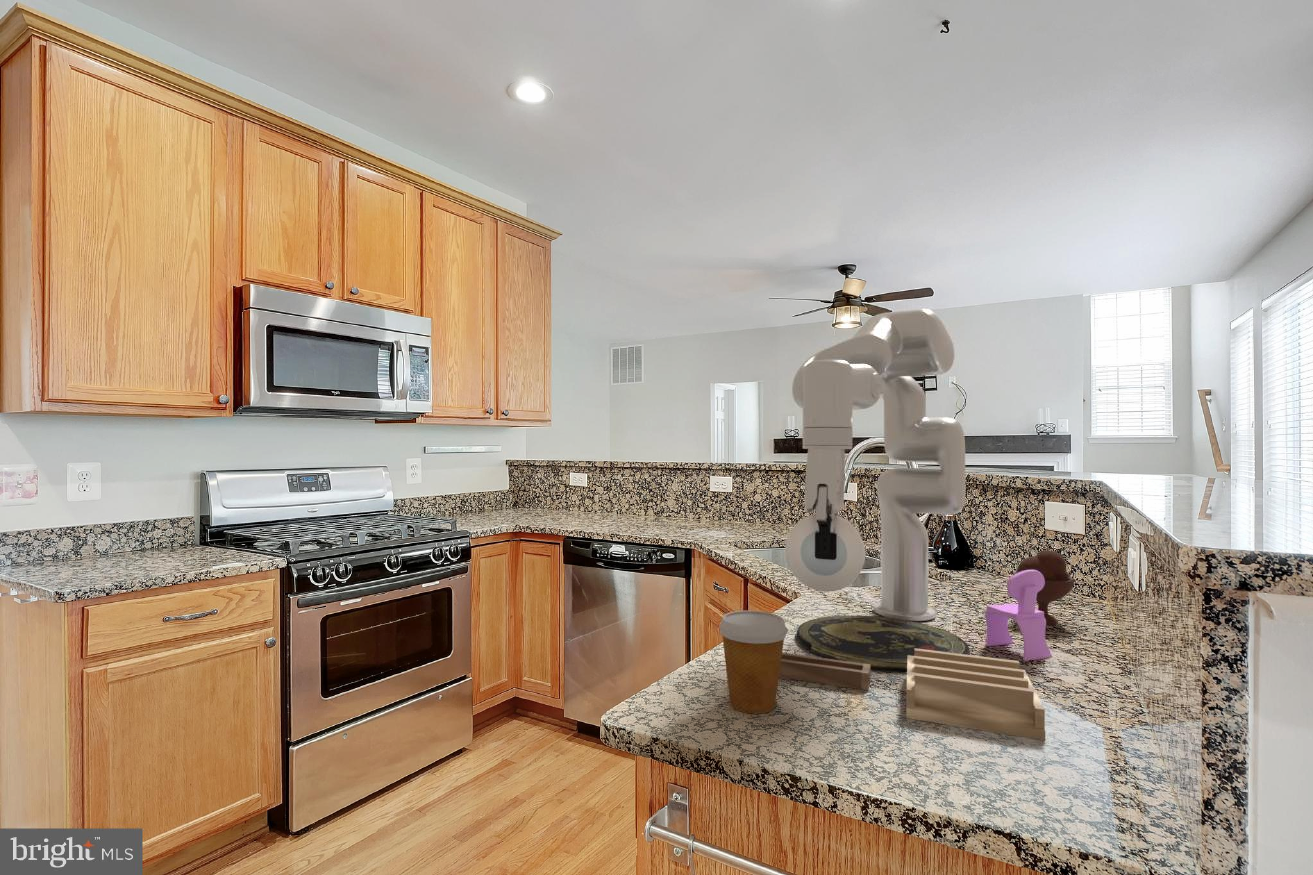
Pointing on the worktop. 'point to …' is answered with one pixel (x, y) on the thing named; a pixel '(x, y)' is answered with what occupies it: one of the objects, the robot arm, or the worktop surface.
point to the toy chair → (1020, 616)
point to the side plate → (825, 571)
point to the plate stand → (825, 671)
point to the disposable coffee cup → (753, 658)
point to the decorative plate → (874, 640)
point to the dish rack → (973, 693)
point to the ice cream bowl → (1049, 579)
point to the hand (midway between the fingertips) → (826, 556)
